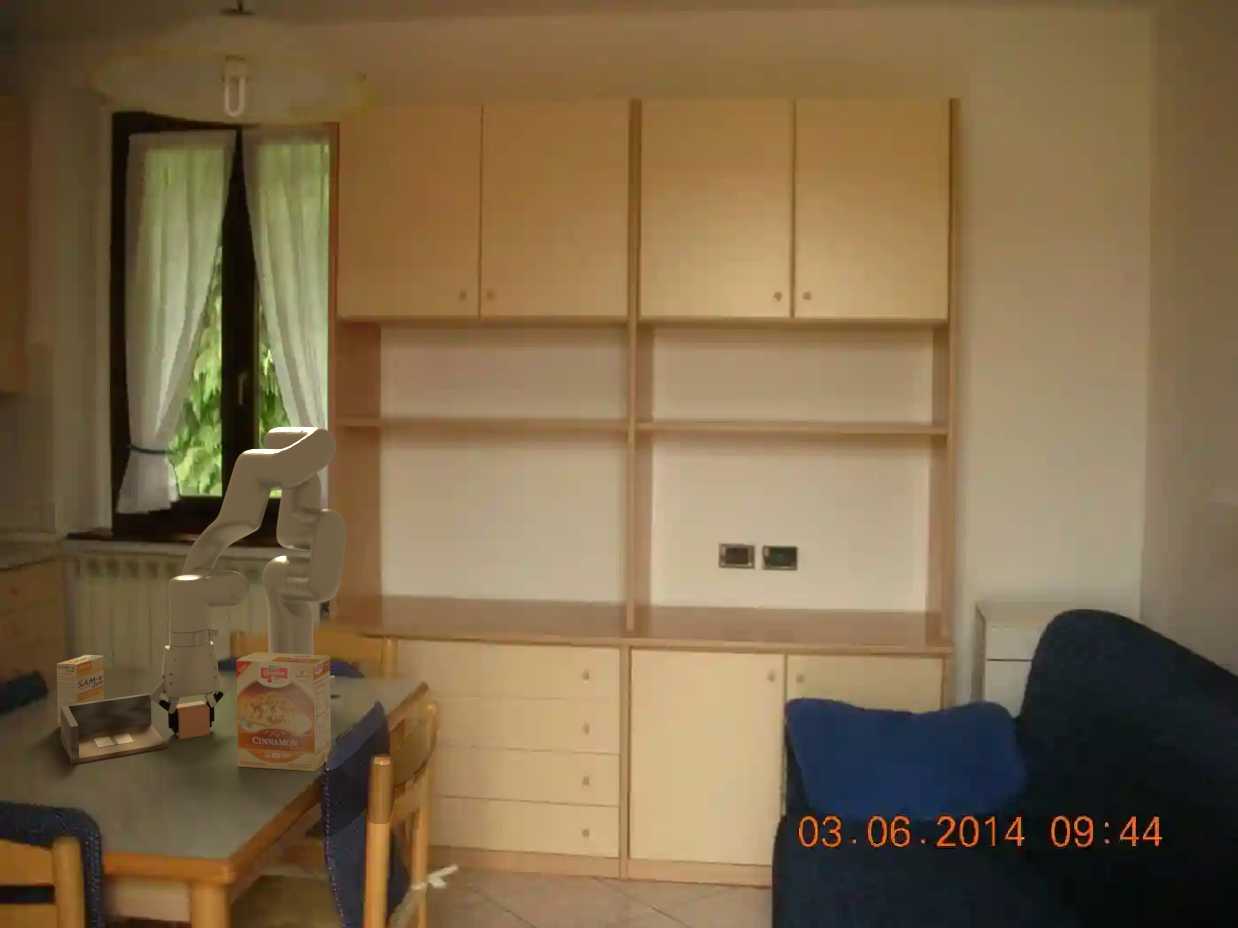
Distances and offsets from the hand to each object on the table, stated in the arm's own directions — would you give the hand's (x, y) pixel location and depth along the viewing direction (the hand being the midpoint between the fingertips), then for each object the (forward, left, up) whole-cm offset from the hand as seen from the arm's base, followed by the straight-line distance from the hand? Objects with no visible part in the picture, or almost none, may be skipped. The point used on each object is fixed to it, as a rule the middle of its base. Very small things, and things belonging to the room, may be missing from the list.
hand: (191, 727), depth 206 cm
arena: (+14, -1, -1) cm, 14 cm away
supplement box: (+17, -20, -1) cm, 26 cm away
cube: (0, 0, -1) cm, 1 cm away
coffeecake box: (-10, +28, -1) cm, 30 cm away
